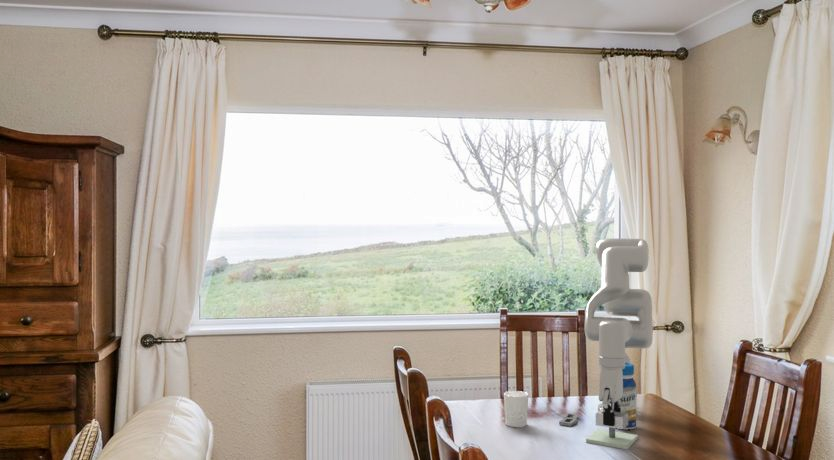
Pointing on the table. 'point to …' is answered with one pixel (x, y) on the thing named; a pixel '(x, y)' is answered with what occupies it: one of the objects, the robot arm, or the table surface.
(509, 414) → the white cup
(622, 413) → the end link
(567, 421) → the chain tail
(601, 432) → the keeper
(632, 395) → the beverage bottle
